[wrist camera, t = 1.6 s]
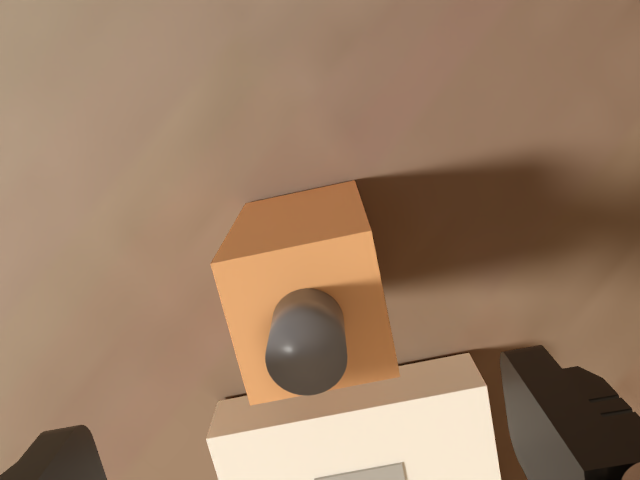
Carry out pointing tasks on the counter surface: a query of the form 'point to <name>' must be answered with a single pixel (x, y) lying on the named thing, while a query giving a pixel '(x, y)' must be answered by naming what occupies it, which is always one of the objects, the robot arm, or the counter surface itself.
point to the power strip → (365, 430)
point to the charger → (305, 295)
